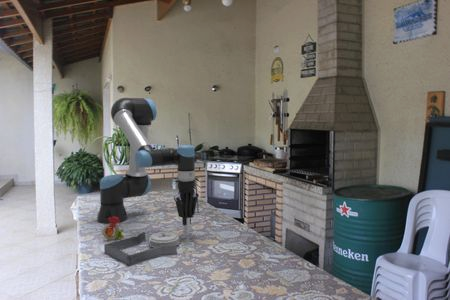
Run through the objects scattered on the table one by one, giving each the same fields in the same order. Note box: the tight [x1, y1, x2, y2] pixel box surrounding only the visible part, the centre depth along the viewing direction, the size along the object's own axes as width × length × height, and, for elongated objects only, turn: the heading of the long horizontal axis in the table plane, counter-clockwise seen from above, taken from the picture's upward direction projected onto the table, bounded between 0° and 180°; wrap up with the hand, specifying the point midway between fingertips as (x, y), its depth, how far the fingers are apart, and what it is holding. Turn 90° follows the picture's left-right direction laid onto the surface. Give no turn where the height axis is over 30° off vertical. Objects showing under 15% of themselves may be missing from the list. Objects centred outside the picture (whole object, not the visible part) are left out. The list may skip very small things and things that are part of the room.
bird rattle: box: [102, 216, 124, 242], centre depth 168 cm, size 6×11×9 cm
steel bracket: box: [104, 231, 178, 267], centre depth 153 cm, size 24×21×4 cm
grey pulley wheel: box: [148, 231, 180, 248], centre depth 162 cm, size 13×13×5 cm
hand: (186, 231), depth 171 cm, fingers closed
